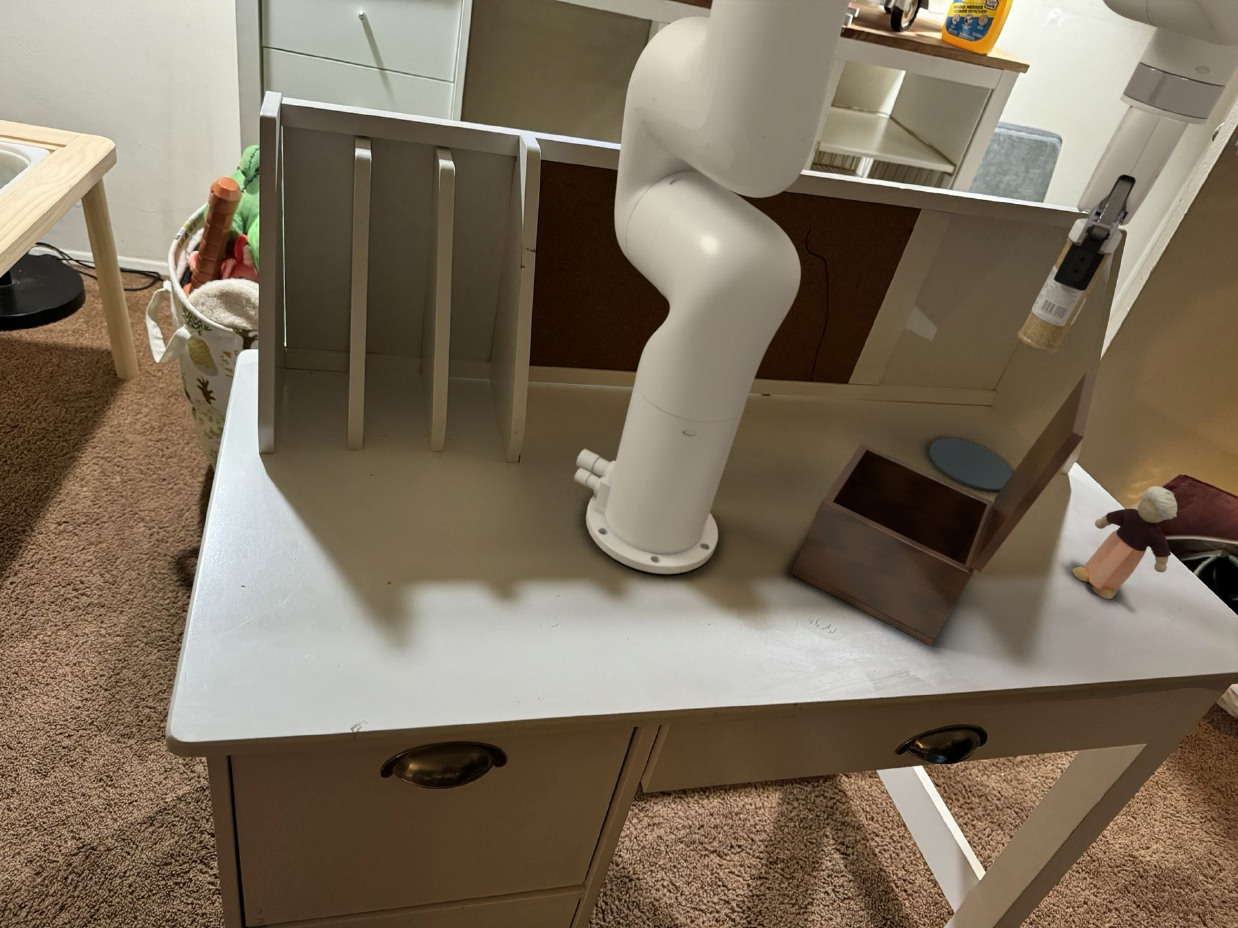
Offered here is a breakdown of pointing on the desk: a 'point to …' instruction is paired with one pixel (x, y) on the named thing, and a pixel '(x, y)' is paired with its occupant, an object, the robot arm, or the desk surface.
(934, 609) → the chest
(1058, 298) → the sprinkles bottle
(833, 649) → the desk surface
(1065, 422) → the chest lid
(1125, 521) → the grandmother figurine
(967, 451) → the mat
